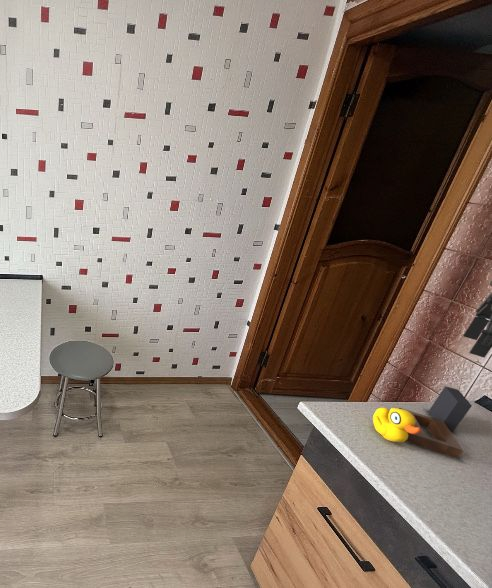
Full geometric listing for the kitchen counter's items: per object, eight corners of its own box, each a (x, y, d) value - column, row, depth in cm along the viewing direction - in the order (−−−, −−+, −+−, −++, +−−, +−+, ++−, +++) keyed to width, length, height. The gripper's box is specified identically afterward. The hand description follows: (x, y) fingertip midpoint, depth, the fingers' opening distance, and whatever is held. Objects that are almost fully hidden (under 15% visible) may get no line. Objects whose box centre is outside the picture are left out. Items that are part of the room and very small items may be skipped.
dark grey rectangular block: (440, 415, 102) (458, 389, 98) (452, 432, 95) (472, 405, 91) (428, 411, 103) (444, 385, 99) (439, 428, 97) (457, 401, 93)
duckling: (414, 456, 86) (434, 427, 82) (393, 453, 86) (411, 424, 82) (381, 423, 97) (397, 396, 93) (362, 421, 97) (377, 394, 93)
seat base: (437, 428, 96) (443, 421, 95) (457, 458, 86) (463, 450, 85) (394, 415, 100) (399, 407, 99) (408, 442, 90) (413, 434, 89)
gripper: (488, 263, 95) (450, 326, 104) (507, 282, 78) (459, 356, 87) (529, 270, 91) (485, 336, 99) (558, 292, 74) (502, 370, 82)
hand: (472, 346), depth 93 cm, fingers open, 13 cm apart
